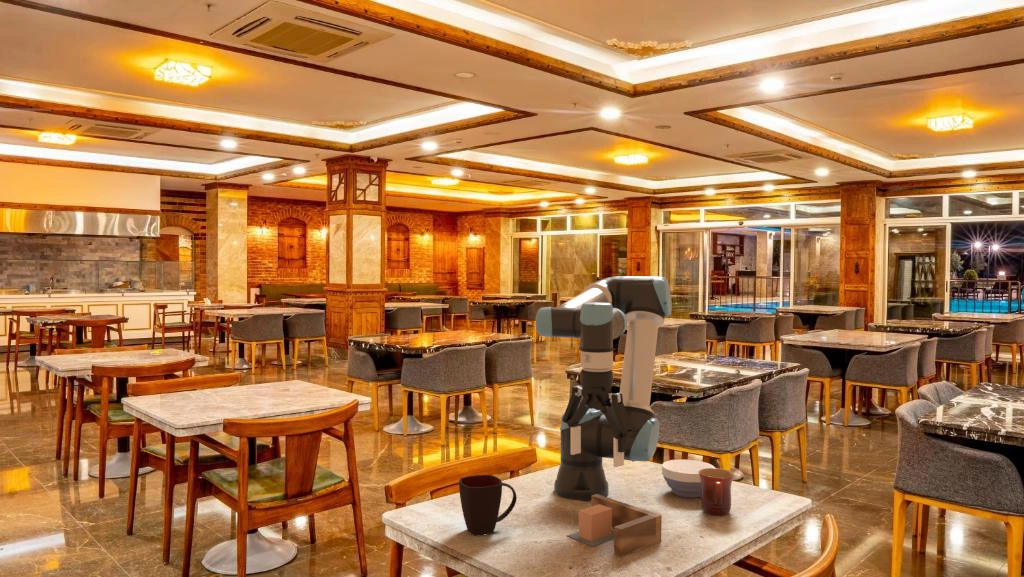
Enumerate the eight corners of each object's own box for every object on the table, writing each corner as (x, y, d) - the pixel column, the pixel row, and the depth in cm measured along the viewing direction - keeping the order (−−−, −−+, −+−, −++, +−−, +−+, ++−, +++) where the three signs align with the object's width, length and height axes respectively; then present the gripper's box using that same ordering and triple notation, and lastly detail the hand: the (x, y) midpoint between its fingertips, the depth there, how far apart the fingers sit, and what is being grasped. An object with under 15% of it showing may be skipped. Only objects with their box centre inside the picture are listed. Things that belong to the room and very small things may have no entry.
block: (599, 529, 170) (599, 504, 169) (611, 533, 166) (612, 508, 166) (578, 536, 165) (578, 510, 165) (591, 541, 162) (591, 515, 162)
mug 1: (455, 526, 172) (454, 477, 172) (509, 519, 176) (509, 471, 176) (465, 541, 162) (465, 489, 162) (522, 533, 167) (522, 483, 167)
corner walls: (556, 531, 169) (556, 506, 169) (596, 517, 178) (597, 494, 178) (620, 556, 154) (621, 529, 153) (661, 541, 163) (661, 515, 162)
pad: (567, 536, 165) (567, 535, 165) (599, 525, 173) (599, 524, 173) (592, 546, 159) (592, 545, 159) (624, 534, 166) (624, 533, 166)
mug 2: (697, 505, 187) (697, 467, 187) (731, 508, 185) (732, 469, 185) (700, 521, 175) (700, 480, 175) (736, 524, 174) (737, 482, 173)
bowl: (706, 505, 188) (706, 476, 187) (654, 495, 195) (654, 468, 195) (721, 490, 200) (721, 464, 200) (671, 482, 208) (672, 456, 207)
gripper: (547, 364, 172) (548, 451, 173) (627, 377, 153) (627, 474, 154) (569, 361, 177) (569, 446, 178) (649, 373, 158) (649, 468, 159)
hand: (596, 459), depth 166 cm, fingers open, 13 cm apart
